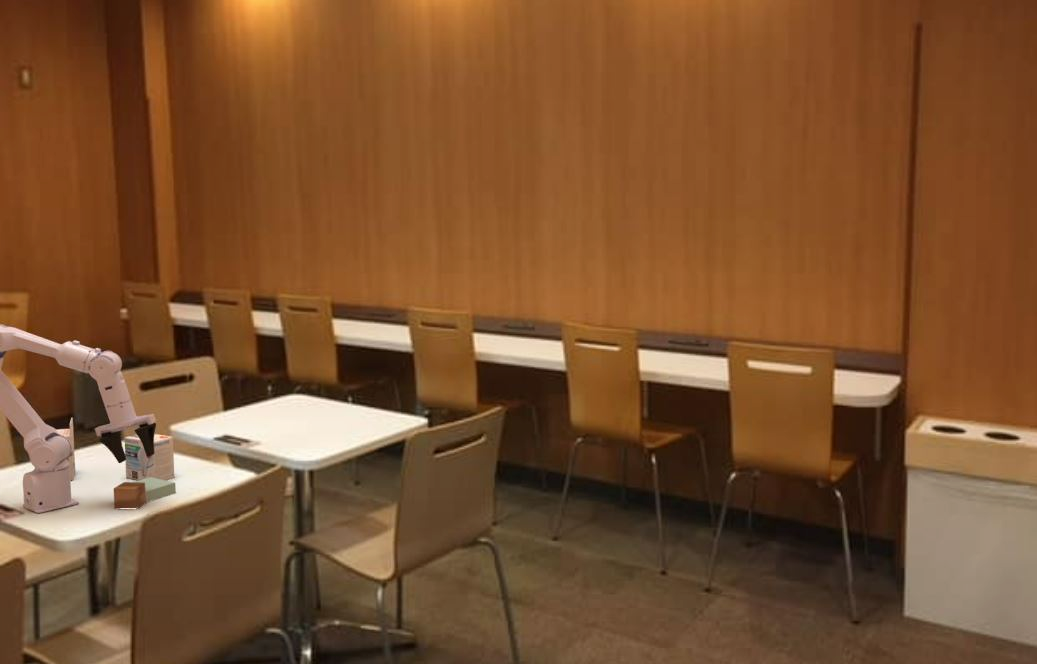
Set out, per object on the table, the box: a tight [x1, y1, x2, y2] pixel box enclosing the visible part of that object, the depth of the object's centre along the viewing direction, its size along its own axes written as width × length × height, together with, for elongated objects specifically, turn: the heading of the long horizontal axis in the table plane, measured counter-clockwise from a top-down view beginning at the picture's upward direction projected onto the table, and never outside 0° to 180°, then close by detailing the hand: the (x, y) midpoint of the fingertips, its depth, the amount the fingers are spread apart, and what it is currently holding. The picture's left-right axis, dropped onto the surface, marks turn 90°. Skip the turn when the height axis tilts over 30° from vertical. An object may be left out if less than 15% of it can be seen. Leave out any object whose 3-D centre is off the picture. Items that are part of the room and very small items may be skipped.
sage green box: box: [134, 477, 177, 503], centre depth 227 cm, size 9×9×3 cm
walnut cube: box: [113, 481, 147, 509], centre depth 218 cm, size 5×5×5 cm
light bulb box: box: [124, 433, 176, 481], centre depth 241 cm, size 11×7×11 cm, turn 62°
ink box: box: [55, 417, 76, 481], centre depth 241 cm, size 9×5×15 cm, turn 22°
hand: (136, 458), depth 220 cm, fingers open, 7 cm apart
